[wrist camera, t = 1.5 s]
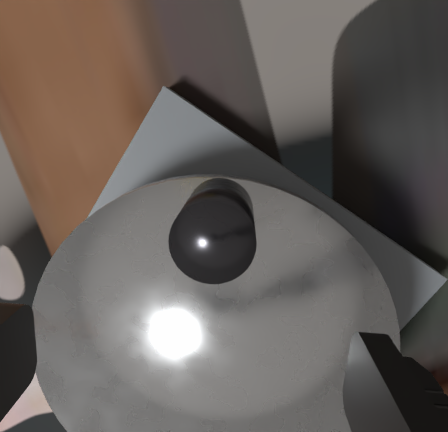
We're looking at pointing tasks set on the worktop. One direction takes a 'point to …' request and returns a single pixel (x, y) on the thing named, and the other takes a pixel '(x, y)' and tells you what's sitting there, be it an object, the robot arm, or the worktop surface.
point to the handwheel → (205, 312)
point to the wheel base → (261, 170)
